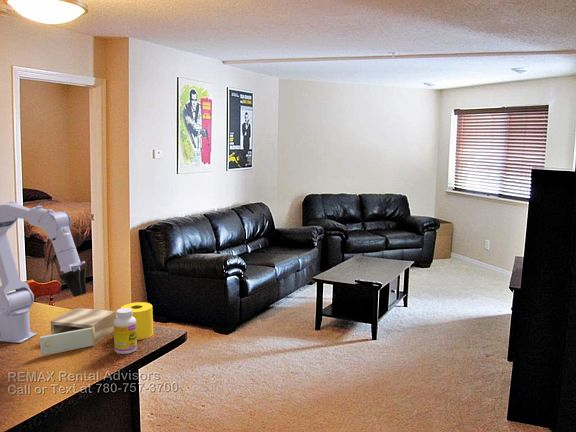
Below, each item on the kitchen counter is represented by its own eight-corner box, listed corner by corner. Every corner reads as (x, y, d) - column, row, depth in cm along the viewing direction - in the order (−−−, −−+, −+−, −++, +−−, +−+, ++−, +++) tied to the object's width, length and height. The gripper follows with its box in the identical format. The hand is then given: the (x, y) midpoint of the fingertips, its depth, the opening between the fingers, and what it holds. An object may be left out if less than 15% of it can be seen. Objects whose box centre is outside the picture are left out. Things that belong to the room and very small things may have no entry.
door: (94, 343, 170) (93, 326, 170) (96, 346, 169) (95, 329, 168) (40, 354, 162) (39, 336, 161) (42, 357, 160) (40, 339, 160)
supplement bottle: (130, 355, 163) (129, 314, 161) (110, 353, 164) (108, 313, 162) (141, 347, 169) (139, 307, 167) (121, 345, 171) (119, 306, 168)
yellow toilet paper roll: (145, 326, 187) (144, 300, 185) (158, 335, 179) (157, 307, 178) (117, 333, 181) (116, 306, 179) (129, 342, 173) (128, 314, 171)
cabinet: (51, 340, 174) (50, 321, 173) (77, 325, 187) (75, 307, 186) (93, 345, 171) (92, 325, 170) (116, 329, 184) (115, 311, 183)
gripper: (75, 246, 154) (90, 291, 154) (83, 247, 168) (97, 289, 168) (49, 254, 152) (64, 300, 152) (60, 255, 167) (74, 296, 166)
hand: (80, 295), depth 160 cm, fingers open, 7 cm apart
